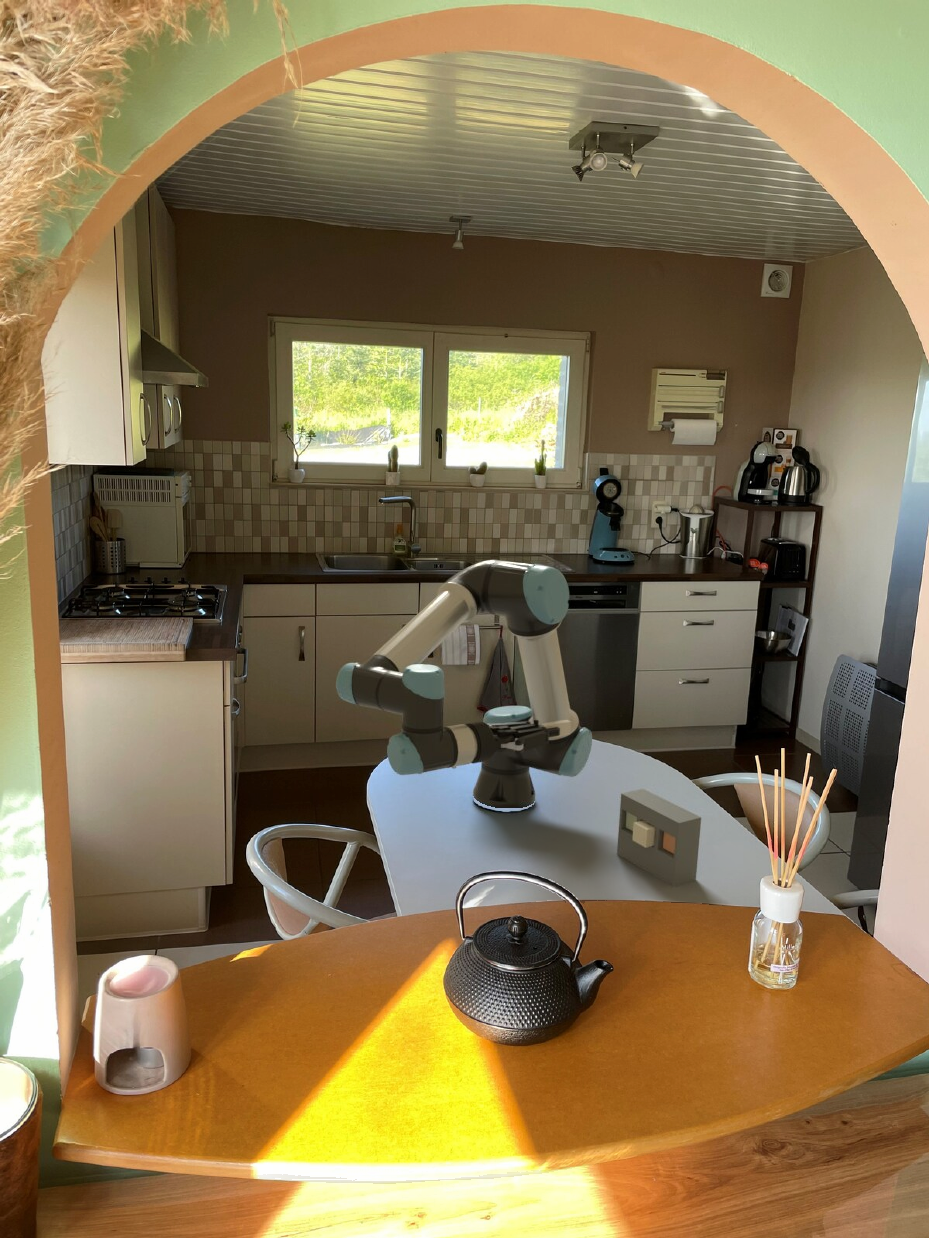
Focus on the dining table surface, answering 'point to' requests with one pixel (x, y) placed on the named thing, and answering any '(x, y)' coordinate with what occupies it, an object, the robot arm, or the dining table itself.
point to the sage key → (630, 821)
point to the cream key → (644, 833)
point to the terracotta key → (669, 842)
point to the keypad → (660, 837)
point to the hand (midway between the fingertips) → (568, 727)
